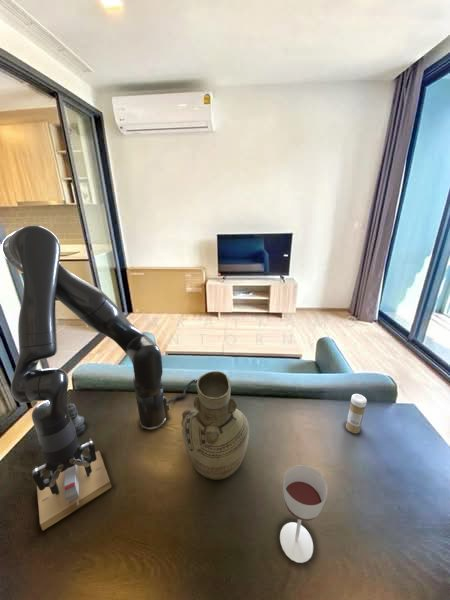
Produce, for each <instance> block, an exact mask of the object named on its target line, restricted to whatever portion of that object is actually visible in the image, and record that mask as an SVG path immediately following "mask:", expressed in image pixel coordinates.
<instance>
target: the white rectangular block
mask: <svg viewBox="0 0 450 600" xmlns="http://www.w3.org/2000/svg"><path fill="white" fill-rule="evenodd" d="M64 493H65V495H66V498H67V501H68V502H70V501H72V500H74V499H76V498H78V497H79V481H78V465H76V464H75V466H73V467H70V468H68V469H67V470H65V479H64Z"/></svg>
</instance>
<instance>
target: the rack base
mask: <svg viewBox="0 0 450 600" xmlns="http://www.w3.org/2000/svg"><path fill="white" fill-rule="evenodd" d="M95 453H96V461H94V462H91V464H90V466H91V470H92V472H91V473H90V476H88V477H87V474H86V471H85V467H84V466H78V481H79V497H78V498H76V499H74V500H72V501H70V502H68V501H67V498H66V495H65V493H64V479H65V471H63V472H62V473H61V472H60V474H59V477H58V479H56V482H57V485H58V488H59V494H57V495H56V493H55V494H52V492H51V490H50V487H45V489H44V490H39V488H38V486H37V485H36V494H37V504H38V505H37V506H38V517H39V526H40V528H41V531H45V530H47V529H48V528H50V527H52V526H53V525H55V524H56V523H58V522H59V521H61V520H62V519H64V518H65V517H67V516H69V515H71V514H72V513H73V512H75V511H77V510H78V509H80V508H82V507H83V506H84V505H86V504H88V503H89V502H91V501H93V500H94V499H96V498H97V497H99V496H100V495H102V494H104V493H105V492H107V491H109V489H111V488H112V484H111V479H110V477H109V475H108V471H107V469H106V466H105V463H104V459H103V458H102V454H101V452H100V450H97V451H95Z"/></svg>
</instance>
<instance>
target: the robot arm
mask: <svg viewBox="0 0 450 600" xmlns="http://www.w3.org/2000/svg"><path fill="white" fill-rule="evenodd" d="M1 252H2V254H3V256H4V258H5V259H6V261H7V262H8V263H9V264H10V265H11V266H13V267H14V268H15V269H17V270H18V271H20V272H21V273H22V276H23V278H22V279H23V294H22V299H21V305H20V309H19V315H18V322H17V323H18V324H17V335H18V337H17V338H18V351H19V352H18V357H17V361H16V366H15V370H14V373H13V377H12V379H11V383H10V393H11V396H12V397H13V399H14V400H15V401H16V402H18V403H20V404H22V403H23V404H26V403H33V402H34V403H35V402H40V403H39V404H37V405H36V406H35V407H34V408H33V410H32V412H31V420H32V423H33V426H34V428H35V431H36V434H37V440H38V444H39V448H40V449H41V452H42V455H43V458H44V460H45V462H44V464H42V465H40V466H38V465H35V466H34V467H32V468H31V469H32V478H33V480H34V483H35V484H36V487H37V486H38V488H39V490H44V489H45V487H50V490H51V492H52V494H55V493H56V495H57V494H59V488H58V485H57V482H56V479H58V477H59V474H60V472H61V473H62V472H63V471H65V470H67V469H68V468H70V467H73V466H75V464H76V465H78V466H84V467H85V471H86V474H87V477H88V476H90V473H91V472H92V470H91V466H90V464H91V462H94V461H96V448H95V443H94V441H93V439H92V438H89V439H88V440H87V442H85V443H84V444H81V443H80V441H79V437H78V435H77V434H76V429H75V427H74V424H73V421H72V420H71V418H70V414H69V411H68V408H67V405H68V390H69V389H68V388H69V375H68V374H67V372H66V371H65V370H64V369H63V368H61V367H49V368H48V367H47V368H39V369H37V367H38V364H39V362H40V361H42V360H46V359H50V358H53V357H54V356H55V355H57V352H58V336H57V320H56V319H57V316H56V314H57V313H56V302H57V301H56V299H57V300H58V301H59V302H61V304H63V305H64V306H65V307H66V308H67V309H68V310H70V311H71V312H72V313H73V314H74V315H75V316H76V317H77V318H78V319H80V320H81V321H82V322H84V324H85V325H87V326H88V327H89V328H91V329H92V330H94V331H95V332H97V333H98V334H100V335H102V336H105V337H107V338H109V339H111V340H112V341H113V342H115V343H116V344H117V345H118V346H119V347H120V348H121V350H123V352H124V353H125V355H126V356H127V357H128V359H129V360H130V362H131V364H132V369H133V374H134V375H133V379H132V382H133V388H134V395H135V399H136V406H137V410H138V412H137V413H138V417H139V424H140V427H141V428H142V429H143V430H146V431H154V430H157V429H159V428H161V427H162V426H163V425H164V424H165V423H166V421H167V420H169V412H168V411H170V405H169V404H170V403H173V402H174V401H176V400H181V399H184V398H185V397H186V394H187V393H186V391H187V390H188V388H189V387H190V386H191V385H192V384H193V383H197V380H198V379H192V380H191V381H190V382H188V383H187V384H186V386H185V387H184V389H183V393H182V395H180V396H176V397H173V398H170V399H169V400H167V397H166V396H165V395H164V394H165V393H164V387H163V378H162V376H163V373H164V371H163V357H162V353H161V349H160V347H159V346H158V345H157V344H156V343H155V341H153V340H152V338H150V337H149V336H147V335H146V334H144V333H143V332H142V331H140V330H139V329H138V328H137V327H135V326H134V325H133V324H132V323H131V322H130V320H128V318H127V317H126V315H125V314H124V312H123V311H122V310H121V309H120V307H119V306H117V304H116V303H115V302H114V301H113V300H112V299H111V298H109V295H107V294H106V293H104V291H102V290H101V289H100V288H98V287H96V286H95V285H93V284H92V283H90V282H88V281H86V280H84V279H83V278H80V277H79V276H77V275H75V274H74V273H72V272H71V271H69V269H68V268H66V267H65V266H64V265H63V264H62V263H61V262H60V261H61V245H60V241H59V239H58V238H57V236H56V235H55V234H54V232H52V231H51V230H49V229H48V228H46V227H44V226H41V225H27V226H24V227H21V228H19V229H17V230H15V231H13V232H12V233H10V234H8V235H7V236H5V238H4V239H3V241H2V242H1ZM195 380H196V381H195ZM84 451H86V452H88V453H89V455H88V456H86V455H84V454H83V452H84ZM45 471H50V472H49V475H48V477H47V478H45V477H44V474H45Z"/></svg>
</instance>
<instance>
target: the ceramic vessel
mask: <svg viewBox="0 0 450 600" xmlns="http://www.w3.org/2000/svg"><path fill="white" fill-rule="evenodd" d="M196 380H197V382H196V391H197V392H196V393H197V396H196V397H195V398H194V400H193V408H194V409H193V410H189V409H188V410H183V412H182V413H181V417H182V418H181V419H182V420H181V427H182V438H183V442H184V446H185V449H186V453H187V456H188V457H189V461H190V462H191V465H192V466H193V468H194V469H195V470H196V471H197V472H198V474H200V475H201V476H203V477H204V478H207V479H210V480H214V481H215V480H216V481H218V480H224V479H227V478H229V477H231V475H233V474H234V473H235V472H237V470H238V469H239V468H240V466H241V464H242V462H243V460H244V457H245V455H246V453H247V448H248V445H249V438H250V425H249V421H248V419H247V417H246V416H245V414H244V412H242V411H241V410H240V409H238V407H237V402H236V400H235V399H233V398H230V397H231V388H232V387H231V383H230V379H229V377H228V375H227V374H226V373H225V372H222V371H219V370H212V371H207V372H205V373H203V374H202V375H200V376H199V377H198V378H197V379H196Z"/></svg>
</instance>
